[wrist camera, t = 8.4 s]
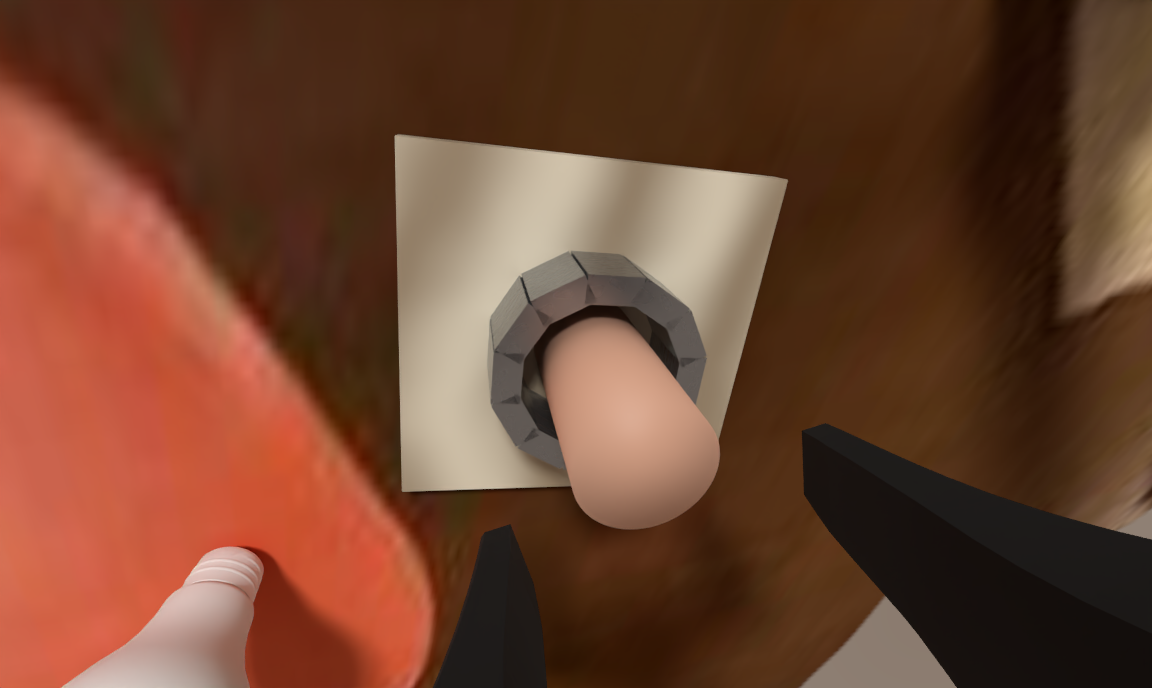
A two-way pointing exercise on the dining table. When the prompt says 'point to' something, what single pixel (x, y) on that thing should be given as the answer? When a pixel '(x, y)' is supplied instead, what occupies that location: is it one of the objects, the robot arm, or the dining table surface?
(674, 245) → the socket board
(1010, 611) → the robot arm
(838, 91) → the dining table surface
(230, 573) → the lightbulb
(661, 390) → the peg
